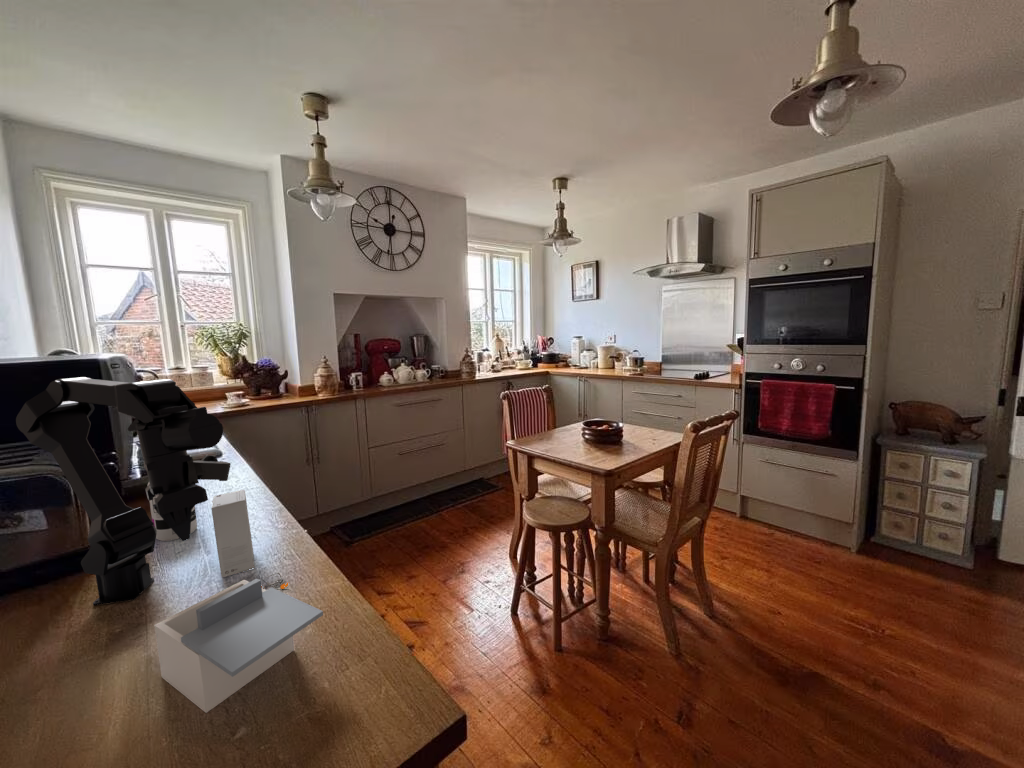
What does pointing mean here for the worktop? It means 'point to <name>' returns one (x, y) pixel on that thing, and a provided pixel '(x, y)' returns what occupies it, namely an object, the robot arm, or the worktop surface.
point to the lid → (247, 625)
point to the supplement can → (163, 528)
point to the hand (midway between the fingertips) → (185, 539)
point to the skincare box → (232, 533)
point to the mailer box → (204, 659)
